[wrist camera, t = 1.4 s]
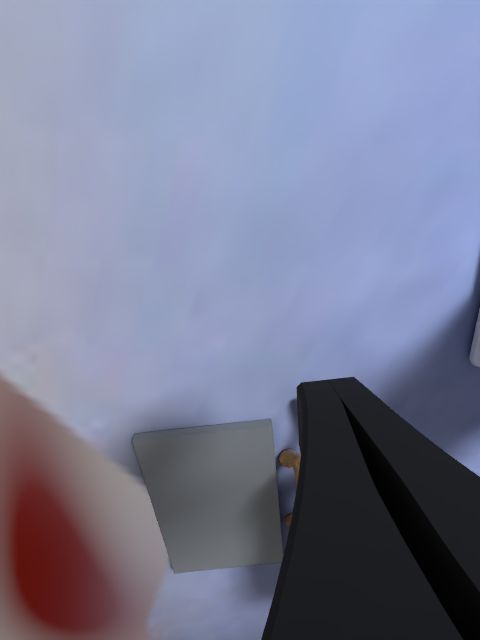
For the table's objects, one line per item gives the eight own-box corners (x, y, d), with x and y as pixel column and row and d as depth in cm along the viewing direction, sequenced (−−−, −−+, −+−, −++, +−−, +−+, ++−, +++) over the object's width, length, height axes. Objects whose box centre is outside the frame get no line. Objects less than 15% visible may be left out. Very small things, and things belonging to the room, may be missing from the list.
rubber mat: (271, 418, 21) (272, 426, 20) (282, 553, 27) (283, 562, 26) (134, 433, 21) (131, 441, 20) (175, 564, 27) (174, 573, 26)
